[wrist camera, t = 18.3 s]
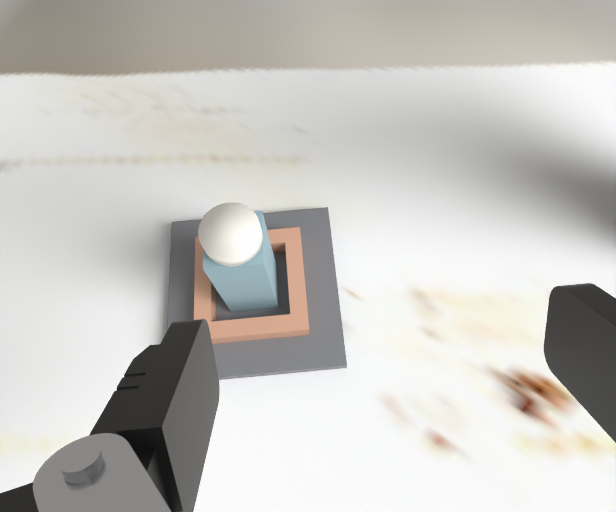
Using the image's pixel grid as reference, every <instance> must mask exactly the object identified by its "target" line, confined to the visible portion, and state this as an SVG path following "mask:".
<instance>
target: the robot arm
mask: <svg viewBox="0 0 616 512" xmlns="http://www.w3.org/2000/svg"><path fill="white" fill-rule="evenodd" d="M544 354H545V358H546V362H547V364H548V366H549V368H550V370H551V372H552V373H553V374H554V375H555V376H556V377H557V378H558V380H559V381H560V382H561V383H562V384H563V385H564V386H565V387H566V388H567V389H568V391H569V392H570V393H571V394H572V395H573V396H574V397H575V398H576V399H577V401H578V402H579V403H580V404H581V405H582V406H583V407H584V408H585V409H586V410H587V412H588V413H589V414H590V415H591V416H592V417H593V418H594V419H595V420H596V421H597V423H598V424H599V425H600V426H601V427H602V428H603V429H604V430H605V431H606V432H607V434H608V435H609V436H610V437H611V438H612V439H613V440H614V441H615V442H616V298H614V297H612V296H611V295H609V294H608V293H606V292H605V291H603V290H602V289H600V288H599V287H597V286H596V285H594V284H591V283H587V284H576V285H566V286H557V287H555V288H553V290H552V291H551V294H550V298H549V306H548V314H547V323H546V332H545V340H544ZM218 402H219V378H218V372H217V367H216V361H215V356H214V351H213V346H212V340H211V335H210V330H209V326H208V323H207V321H206V319H198V320H187V321H177V322H172V323H171V325H170V327H169V329H168V331H167V333H166V334H165V336H164V338H163V340H162V342H161V344H159V345H150V346H149V347H147V348H146V349H145V350H144V351H143V352H141V353H140V354H139V355H138V356H137V357H135V358H134V359H133V361H132V362H131V364H130V366H129V367H128V369H127V371H126V373H125V374H124V378H122V380H121V381H120V383H119V385H118V386H117V391H115V392H114V393H113V395H112V397H111V399H110V400H109V402H108V404H107V405H106V407H105V409H104V411H103V412H102V414H101V416H100V418H99V419H98V421H97V423H96V424H95V426H94V428H93V430H92V431H91V433H90V435H89V436H87V437H84V438H81V439H78V440H76V441H74V442H72V443H70V444H68V445H66V446H64V447H63V448H61V449H60V450H58V451H57V452H56V453H55V454H53V455H52V456H51V457H50V458H49V459H48V460H47V461H46V462H45V463H44V464H43V465H42V466H41V468H40V469H39V471H38V472H37V474H36V476H35V479H34V481H33V483H30V484H27V485H24V486H21V487H18V488H15V489H12V490H9V491H6V492H3V493H0V512H193V510H194V506H195V501H196V497H197V493H198V488H199V484H200V480H201V476H202V471H203V467H204V463H205V458H206V454H207V450H208V445H209V441H210V437H211V432H212V428H213V424H214V419H215V415H216V411H217V407H218Z"/></svg>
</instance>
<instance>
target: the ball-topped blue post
mask: <svg viewBox="0 0 616 512" xmlns="http://www.w3.org/2000/svg"><path fill="white" fill-rule="evenodd" d="M198 237H199V241H200V243H201V245H202V247H203V270H204V272H205V273H206V275H207V276H208V278H209V279H210V281H211V282H212V284H213V285H214V287H215V288H216V290H217V291H218V293H219V294H220V296H221V297H222V299H223V300H224V302H225V303H226V305H227V306H228V308H229V309H230V311H231V312H239V311H251V310H263V309H275V308H278V289H277V268H276V262H275V258H274V254H273V250H272V246H271V243H270V239H269V235H268V231H267V228H266V224H265V220H264V216H263V212H262V211H253V210H252V209H250V208H249V207H247V206H245V205H243V204H239V203H225V204H221V205H218V206H216V207H214V208H213V209H211V210H210V211H209V212H207V213H206V215H204V217H203V218H202V220H201V222H200V225H199V228H198Z"/></svg>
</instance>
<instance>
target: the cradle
mask: <svg viewBox="0 0 616 512" xmlns="http://www.w3.org/2000/svg"><path fill="white" fill-rule="evenodd" d="M263 216H264V220H265V224H266V228H267V231H268V235H269V239H270V243H271V246H272V250H273V254H274V258H275V262H276V268H277V289H278V308H275V309H263V310H251V311H239V312H231V311H230V309H229V308H228V306H227V305H226V303H225V302H224V300H223V299H222V297H221V296H220V294H219V293H218V291H217V290H216V288H215V287H214V285H213V284H212V282H211V281H210V279H209V278H208V276H207V275H206V273H205V272H204V270H203V247H202V245H201V243H200V241H199V237H198V228H199V225H200V222H201V220H202V219H200V220H189V221H179V222H172V230H171V253H170V277H169V300H168V323H167V331H168V329H169V327H170V325H171V323H172V322H177V321H187V320H198V319H206V321H207V323H208V326H209V330H210V335H211V340H212V346H213V351H214V356H215V361H216V367H217V372H218V378H219V380H222V379H233V378H243V377H254V376H264V375H275V374H285V373H296V372H307V371H317V370H328V369H338V368H346V367H347V363H346V355H345V346H344V338H343V330H342V321H341V313H340V305H339V296H338V288H337V280H336V272H335V263H334V255H333V247H332V238H331V230H330V222H329V213H328V207H327V208H316V209H306V210H295V211H284V212H274V213H263Z"/></svg>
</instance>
